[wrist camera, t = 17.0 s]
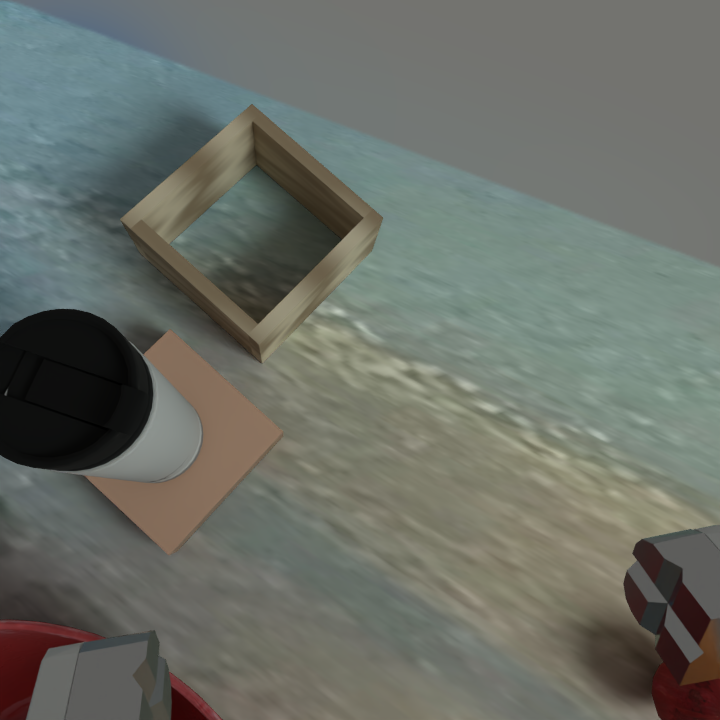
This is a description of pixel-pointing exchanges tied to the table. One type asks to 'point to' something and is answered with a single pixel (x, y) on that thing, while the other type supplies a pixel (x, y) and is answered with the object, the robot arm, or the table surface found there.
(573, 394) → the table surface
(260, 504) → the table surface
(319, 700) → the table surface
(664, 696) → the onion
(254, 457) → the tile stand
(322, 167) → the open wooden box frame
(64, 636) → the mixing bowl
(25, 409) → the travel mug
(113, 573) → the table surface
